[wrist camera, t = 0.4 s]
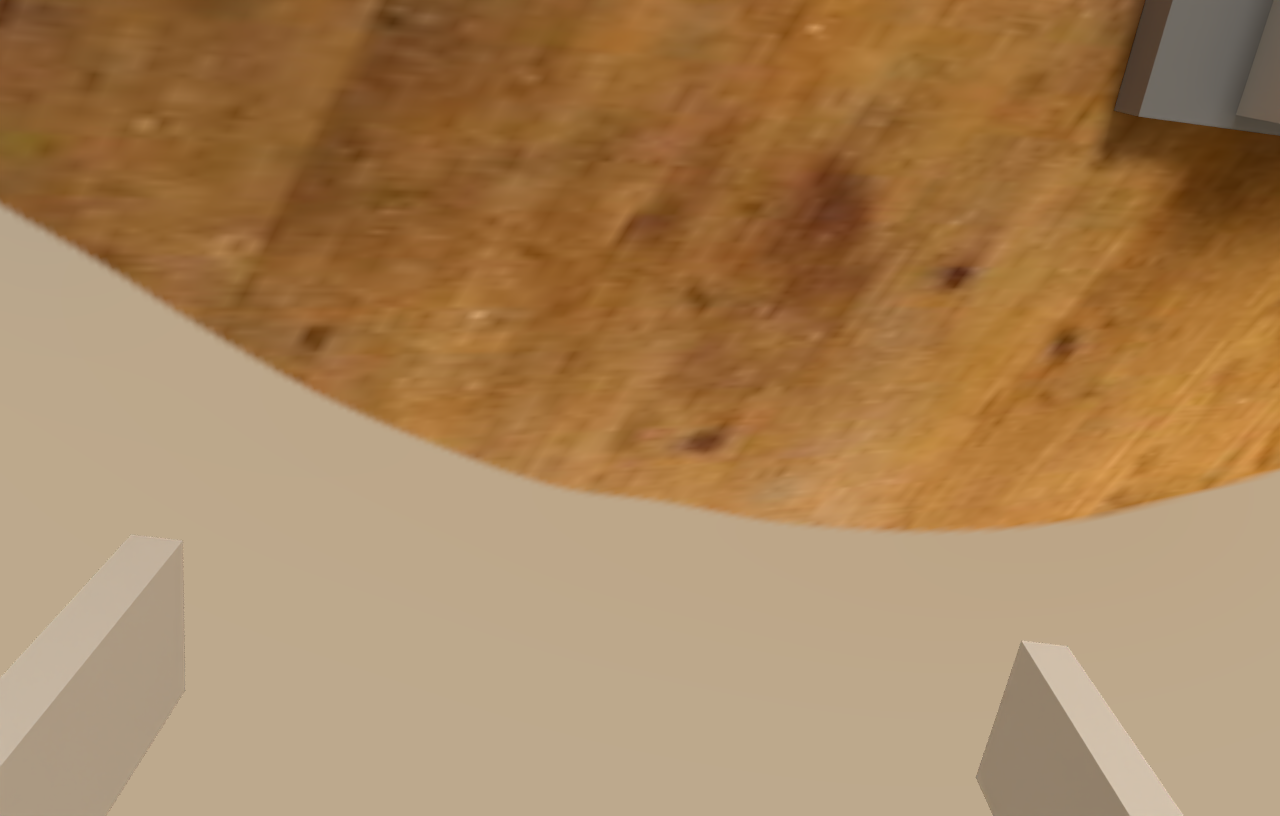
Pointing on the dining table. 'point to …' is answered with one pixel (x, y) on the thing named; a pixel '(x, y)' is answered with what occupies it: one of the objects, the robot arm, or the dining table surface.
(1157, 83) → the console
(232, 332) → the dining table surface
